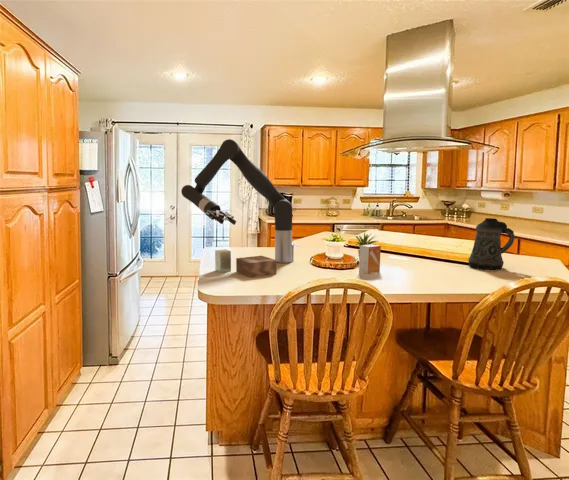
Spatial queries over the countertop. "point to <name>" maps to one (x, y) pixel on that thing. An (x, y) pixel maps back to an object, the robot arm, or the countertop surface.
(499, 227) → the beer stein
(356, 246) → the house plant
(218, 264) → the sage tea tin
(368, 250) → the small box
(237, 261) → the walnut block
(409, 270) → the countertop surface
